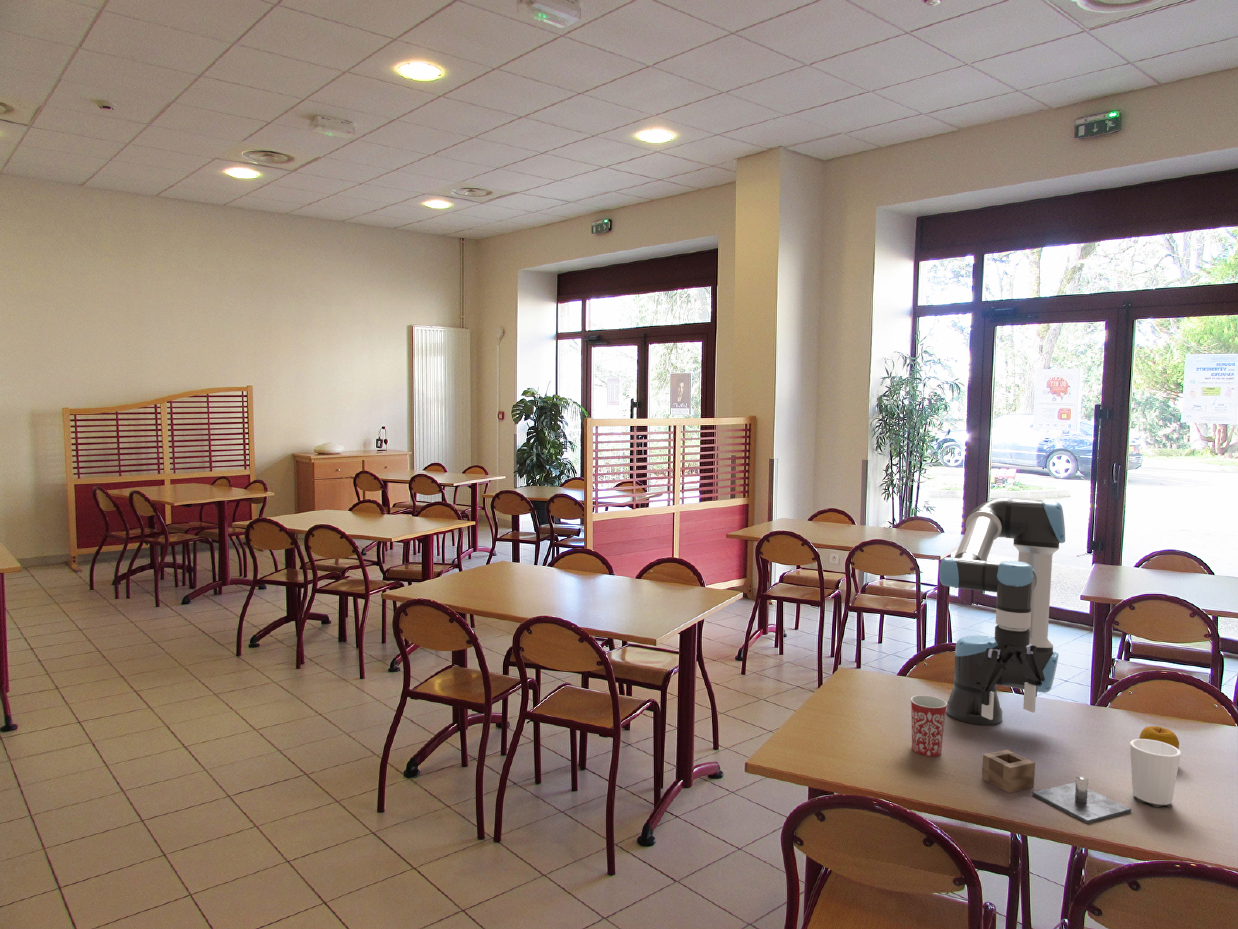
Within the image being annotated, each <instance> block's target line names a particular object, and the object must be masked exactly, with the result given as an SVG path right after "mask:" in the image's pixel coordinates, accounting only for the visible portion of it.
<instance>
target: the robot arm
mask: <svg viewBox="0 0 1238 929" xmlns="http://www.w3.org/2000/svg"><path fill="white" fill-rule="evenodd" d="M1065 526H1066V525H1065V516H1064V511H1063V506H1062V504H1061V503H1060V502H1057V501H1053V500H1045V499H1033V498H1032V499H1030V498H1029V499H1028V498H1009V497H1000V498H999V497H997V498H994V499H990V500H988V501H985V502H984V503H981V504H980V505H978V506H976V507H975V508H974V509H973V510H972V511H971V512H970V513H969V514H968V517H967V518H966V521H965V530H966V531H965V532H964V535H963V537H962V539H961V541H960V544H959V546H958V548H957V551H956V553H955V554H954V556H951V557H943V558H942V559H941V561H940V565H939V581H940V583H941V585H942V586H944V587H949V588H950V587H951V588H955V589H965V590H972V591H973V590H975V591H983V592H990V593H991V592H992V593H996V606H995V610H996V611H995V624H996V626H995V627H994V636H991V635H968V636H964V637H961V638H959V639H958V640H957V641H956V644H955V650H954V653H953V654H954V671H953V673H954V675H953V688H952V690H951V693H950V695H949V699H948V701H946V702H947V707H946V714H947V715H948V716H949V717H951V718H953V719H956V720H958V721H961V722H965V723H969V724H973V725H983V726H985V725H989V726H991V725H996V724H999V723H1001V722H1002V721H1003V710H1002V707H1001V705H1000V701H999V696H998V686H1001V687H1007V688H1008V687H1009V688H1011V689H1012V688H1013V689H1019V690H1023V705H1022V706H1023V708H1022V709H1023V710H1025V711H1027V712H1031V713H1036V703H1037V702H1036V699H1037V696H1038V693H1044V694H1045V693H1048V692H1050V691H1051V690H1052V687H1053V683H1054V679H1055V675H1056V671H1057V666H1058V660H1059V656H1060V655H1059V653H1058V652H1056V651H1054V644H1053V643H1052V642H1051V641H1050V640H1049V639H1048V636H1049V635H1048V634H1049V621H1050V618H1049V617H1050V601H1051V583H1052V571H1053V570H1052V567H1053V554H1055V553H1056V552H1057V551H1058V550H1059V549H1060V544H1063V543H1065V542H1066V527H1065ZM997 538H1006V539H1012V540H1013V546H1014V547H1015V548H1016V550H1017V551H1018V559H1017V560H1018V561H1016V560H1006V561H1000V562H998V561H997V562H995V561H988V560H987V559H988V557H989V554H990V551H991V549H992V546H993V544H994V540H997Z"/></svg>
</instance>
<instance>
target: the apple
mask: <svg viewBox="0 0 1238 929" xmlns="http://www.w3.org/2000/svg"><path fill="white" fill-rule="evenodd" d="M1138 739H1150V740H1156V741H1160V742H1164V743H1167V744H1169V745H1172V746H1174V747H1176V748H1177V749H1178V750H1180V748H1179V747H1180V740H1179V738H1178V736H1177V735H1176V734H1175V732H1173V731H1172V730H1170V729H1168V728H1165V727H1162V726H1156V725H1153V726H1146V727H1144V728H1143V729H1142V730H1141V731H1140V734H1139V737H1138Z"/></svg>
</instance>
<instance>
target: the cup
mask: <svg viewBox="0 0 1238 929" xmlns="http://www.w3.org/2000/svg"><path fill="white" fill-rule="evenodd" d="M1129 751H1130V752H1129V753H1130V767H1131V769H1130V770H1131V786H1132V788H1131V789H1132V794H1133V796H1134V798H1135V799H1136V800H1137V802H1139V803H1143V804H1144V803H1148V804H1150V805H1151V806H1152V807H1154V808H1160V807H1162V806H1165V807H1171V805H1172V803H1173V798H1174V794H1175V787H1176V782H1177V777H1178V771H1179V765H1180V760H1181V755H1182V752H1181V750H1180V749H1179V750H1178V749H1177V748H1176V747H1174V746H1172V745H1169V744H1167V743H1164V742H1160V741H1156V740H1150V739H1139V738H1135V739H1133V740H1130V742H1129Z"/></svg>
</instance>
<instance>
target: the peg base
mask: <svg viewBox="0 0 1238 929" xmlns="http://www.w3.org/2000/svg"><path fill="white" fill-rule="evenodd" d="M1032 797H1035V798H1037V799H1038V800H1041V801H1042V802H1044V803H1046V804H1048V805H1050V806H1052V807H1054V808H1055V809H1058V810H1060V811H1062V812H1064V813H1066V814H1067V813H1068V815H1069V814H1070V816H1071V815H1072V817H1073V818H1076V819H1077V820H1080V821H1081V822H1083V823H1085V824H1088V825H1089V824H1092V823H1096V822H1100V821H1104V820H1107V819H1111V818H1114V817H1115V818H1116V817H1118V816H1119V817H1120V816H1123V815H1126V814H1129V813H1132V808H1130V807H1128V806H1126V805H1124V804H1122V803H1120V802H1117V801H1115V800H1114V799H1111V798H1109V797H1107V796H1105V795H1102V794H1101V793H1098V792H1096V791H1094V790H1092V789H1091V788H1089V779H1088V777H1087V776H1082V775H1077V776H1076V777H1075V781H1074V782H1070V783H1065V784H1062V785H1057V786H1053V787H1050V788H1049V787H1048V788H1045V789H1041V790H1035V791H1032Z"/></svg>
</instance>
